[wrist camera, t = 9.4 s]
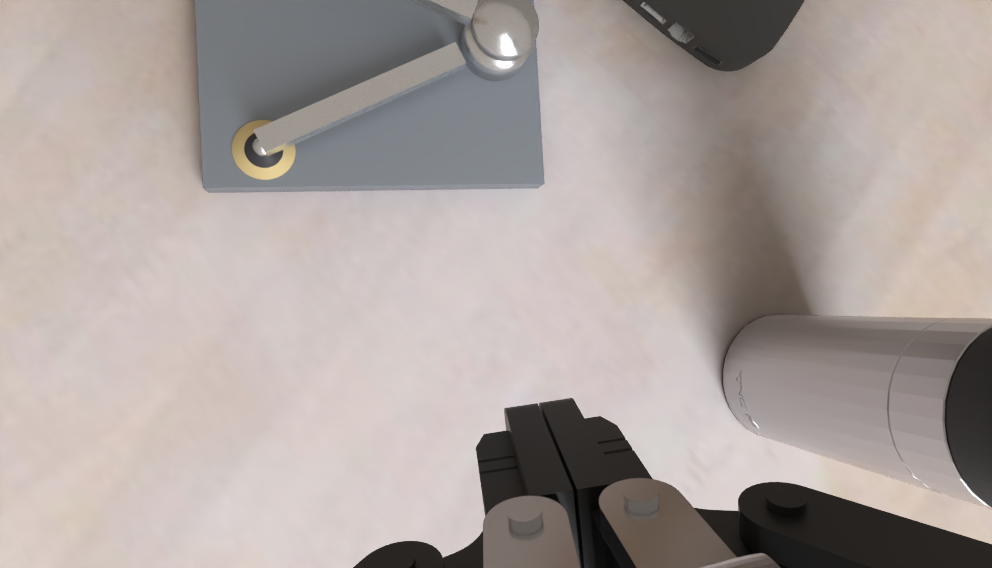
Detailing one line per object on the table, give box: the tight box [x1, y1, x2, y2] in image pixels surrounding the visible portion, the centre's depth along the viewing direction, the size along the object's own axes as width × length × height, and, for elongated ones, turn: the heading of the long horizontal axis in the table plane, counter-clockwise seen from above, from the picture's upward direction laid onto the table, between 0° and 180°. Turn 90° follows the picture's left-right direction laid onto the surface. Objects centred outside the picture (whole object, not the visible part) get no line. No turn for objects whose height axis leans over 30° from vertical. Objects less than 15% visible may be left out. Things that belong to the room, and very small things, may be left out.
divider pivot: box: [253, 5, 535, 157], centre depth 37 cm, size 19×4×2 cm, turn 113°
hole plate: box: [195, 0, 544, 193], centre depth 39 cm, size 21×18×2 cm
